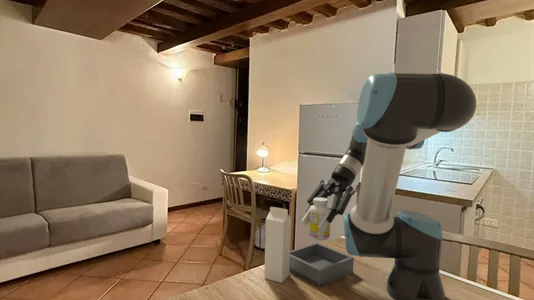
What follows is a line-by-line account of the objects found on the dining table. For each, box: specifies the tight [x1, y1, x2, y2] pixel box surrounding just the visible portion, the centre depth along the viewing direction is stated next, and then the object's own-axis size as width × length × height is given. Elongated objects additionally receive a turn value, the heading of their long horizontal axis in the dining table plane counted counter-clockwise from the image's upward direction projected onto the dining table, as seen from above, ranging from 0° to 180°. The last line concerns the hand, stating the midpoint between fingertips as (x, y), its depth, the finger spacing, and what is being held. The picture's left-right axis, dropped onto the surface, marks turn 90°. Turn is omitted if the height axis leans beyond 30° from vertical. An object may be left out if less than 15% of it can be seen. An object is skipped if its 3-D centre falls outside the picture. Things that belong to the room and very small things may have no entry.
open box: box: [289, 242, 355, 288], centre depth 107 cm, size 16×16×5 cm
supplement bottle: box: [308, 198, 331, 241], centre depth 106 cm, size 7×7×13 cm
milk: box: [263, 206, 292, 284], centre depth 101 cm, size 6×6×22 cm
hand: (312, 226), depth 104 cm, fingers closed on supplement bottle, 7 cm apart
